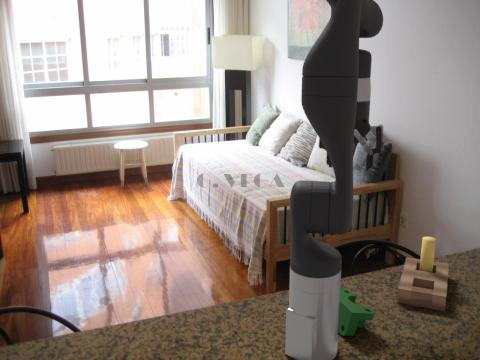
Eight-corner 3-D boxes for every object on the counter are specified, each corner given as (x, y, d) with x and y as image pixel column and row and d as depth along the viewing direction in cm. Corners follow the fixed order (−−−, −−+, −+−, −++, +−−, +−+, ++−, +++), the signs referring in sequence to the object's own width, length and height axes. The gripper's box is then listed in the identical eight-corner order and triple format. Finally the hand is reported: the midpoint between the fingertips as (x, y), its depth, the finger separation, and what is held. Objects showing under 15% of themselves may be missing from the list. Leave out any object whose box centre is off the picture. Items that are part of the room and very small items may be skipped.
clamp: (360, 349, 106) (381, 321, 101) (335, 348, 104) (355, 319, 99) (339, 303, 115) (357, 275, 111) (316, 301, 113) (333, 273, 108)
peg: (428, 285, 124) (432, 242, 121) (416, 281, 126) (420, 239, 123) (433, 280, 126) (437, 238, 123) (421, 277, 128) (425, 235, 125)
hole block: (444, 311, 112) (446, 296, 111) (396, 302, 116) (398, 288, 115) (447, 276, 128) (448, 263, 127) (405, 270, 132) (406, 257, 131)
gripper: (388, 97, 116) (383, 167, 121) (325, 95, 122) (323, 162, 126) (383, 101, 110) (378, 175, 114) (317, 98, 115) (315, 169, 119)
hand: (349, 168), depth 120 cm, fingers open, 8 cm apart
